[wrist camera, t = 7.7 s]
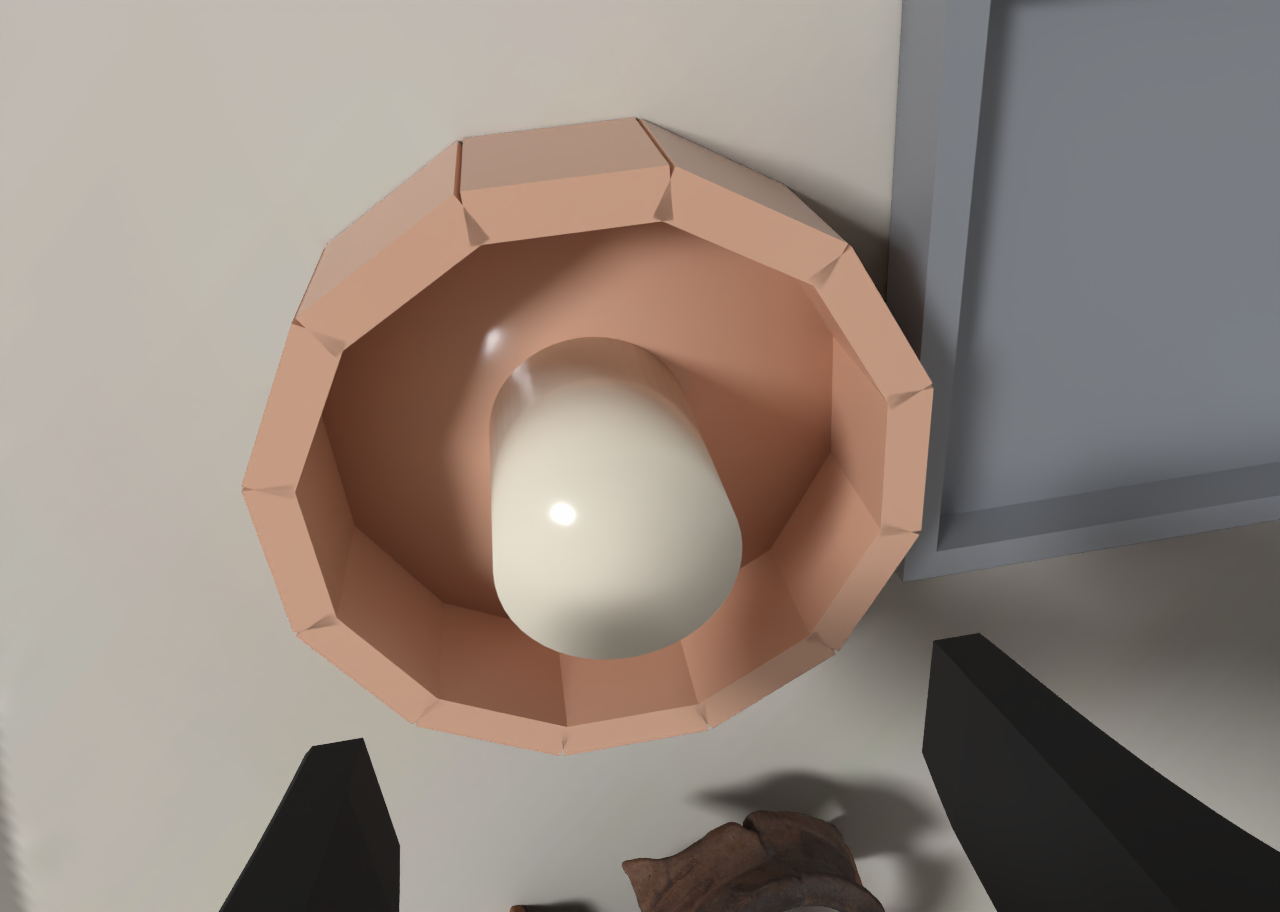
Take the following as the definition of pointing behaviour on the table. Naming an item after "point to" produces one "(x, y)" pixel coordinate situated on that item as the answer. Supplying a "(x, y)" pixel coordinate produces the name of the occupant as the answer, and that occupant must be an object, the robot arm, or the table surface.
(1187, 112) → the parts tray
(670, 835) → the table surface
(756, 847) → the broken clay pot
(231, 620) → the table surface
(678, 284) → the terracotta bowl
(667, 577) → the cream rounded cylinder
